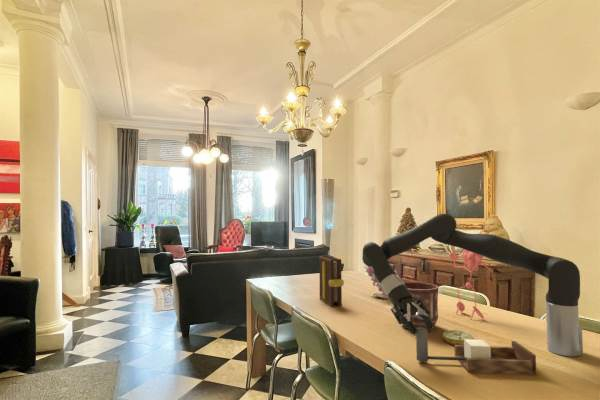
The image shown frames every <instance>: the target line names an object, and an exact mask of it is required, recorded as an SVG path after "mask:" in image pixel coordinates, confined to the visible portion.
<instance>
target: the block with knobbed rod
mask: <svg viewBox="0 0 600 400" xmlns="http://www.w3.org/2000/svg"><path fill="white" fill-rule="evenodd" d="M416 329H417V330H418V332H417V333H416V334H415V336H416V337H415V339H416V340H415V341H416V343H415V344H416V348H415V349H416V352H415V353H416V360H417V361H418V362H422V363H426V362H429V360H435V361H436V360H439V361H440V360H441V361H458V360H459V361H466V358H484V359H491V347H490V346H491V345H489V343H487V342H486V341H485V340H484V339H464V357H455V356H442V355H441V356H437V355H434V356H433V355H429V343H428V341H429V339H428V334H429V333H428V330H427V329H426V328H422V327H418V328H416ZM459 361H458V362H459Z"/></svg>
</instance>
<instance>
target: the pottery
mask: <svg viewBox="0 0 600 400" xmlns="http://www.w3.org/2000/svg"><path fill="white" fill-rule="evenodd" d="M403 283H404V284H405V285H406V287H407V288H408V290H409V291H410V292H411V294H412V299H413V300H414V301H415V302H416V301H417V300H418V299H420V300H421V301H422V303H423V304H424V305H425V306H426V308H427V309H428V310H429V312H430V314H429V315H428V317H429V319H430V320H431V322H432V323H433V325H434V326H435V325H436V324H437V322H438V320H439V310H438V309H439V308H438V307H439V305H438V302H439V300H438V299H439V289H440V288H439V286H438V285H436V284H432V283H428V282H421V281H405V282H404V281H403ZM418 311H419V310H417V312H418ZM423 311H424V312H426V311H425V310H423ZM420 315H422V314H420ZM422 316H423V315H422ZM399 318H400V319H401V317H400V316H399ZM411 321H412V323H413V324H414V326H415V327H416V328H418V327H422V328H426V329H427V331H430V330H429V329H428V328H427V326H426V325H425V323H424V322H423V320H422V319H421V318H419V317H416V316H410V322H411ZM402 325H403V327H404V328H406V329H408V328H407V326H406V325H404V324H402Z"/></svg>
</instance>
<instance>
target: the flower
mask: <svg viewBox="0 0 600 400" xmlns="http://www.w3.org/2000/svg"><path fill="white" fill-rule="evenodd" d="M362 268H364V269H365V270H364V272H365V273H367V274H368V276H369V277H370V280H371V282H372V286H373V287H377V289H378V292H380V293H378V292H375V293H373V295H372V297H374V296H377V297H379V298H382V299H386V297H387V295H386V293H385V292H384V290H383V288H382V286H381V284H380V283H379V281H378V280H377V278H376V277H375V275H374V270H373V267H370V266H367V265H363V266H362ZM393 270H394V271H395V273H396V274H397V275H398V272H397V270H395V269H393ZM381 292H382V294H381Z"/></svg>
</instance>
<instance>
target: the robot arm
mask: <svg viewBox="0 0 600 400" xmlns="http://www.w3.org/2000/svg"><path fill="white" fill-rule="evenodd" d="M457 225H458V224H457V220H456V218H454V217H453V216H452V215H451V214H447V213H439V214H437V215H435V216H433V217H431V218H430V219H428V220H427V221H425V222H423V223H422V224H419V225H417V226H415V227H414V228H411V229H409V230H407V231H404V232H402V233H400V234H396V235H394V236H392V237H389V238H387V239H385V240H383V242H382V243H381V245H379V244H378V243H376V242H371V241H370V242H367V243H365V244H364V245H363V247H362V258H361V259H362V262H363V264H364V266H370V267H373V270H374V275H373V276H375V277H376V278H377V280H378V281H379V284H381V286H382V288H383V290H384V292H385V293H386V297H387V298H388V299H389V301H390V302H391V304H392V305H393V306H392V307H391V309H390V311H391V312H392V314H393V316H394V318H395V319H396V321H397V323H398V324H399V325H403V324H404V325H406V326H407V328H406V329H408V330H409V332H410V334H412V336H414V335H415V336H416V333H417V332H418V330H417V329H416V327H415V326H414V324H413V323H412V321H411V322H410V316H416V317H419V318H421V319H422V320H423V322H424V323H425V325H426V326H427V328H428V329H429V330H428V331H430V330H432V329H434V327H435V325H433V323H432V322H431V320H430V319H429V317H428V315H429V314H430V312H429V310H428V309H427V308H426V306H425V305H424V304H423V303H422V301H421V300H420V299H418V300H417V301H416V302H415V301H414V300H413V299H412V294H411V292H410V291H409V290H408V288H407V287H406V285H405V284H404V283H403V282H404V281H403V280H402V279H401V277H400V276H399V275H398V273H397V274H396V273H395V271H396V270H395V269H394V267H392V266H391V265H390V264H391V263H389V261H388V260H389V259H391V258H393V257H394V256H397V255H401V254H403V253H405V252H407V251H410V250H411V249H413V248H414V247H416V246H417V245H419V244H420V243H422V242H424V241H425V240H427V239H429V238H431V239H432V240H434V241H436V243H437V242H438V243H440V244H444V245H447V246H452V247H456V248H459V249H461V250H464V249H465V250H468V251H470V252H473V253H476V254H479V255H482V256H484V257H483V258H487V259H490V260H493V261H495V262H498V263H501V264H505V265H509V266H512V267H517V268H522V269H525V270H528V271H531V272H532V273H535V274H537V275H539V276H542V277H544V278H546V279H547V280H548V290H547V292H546V294H545V312H546V340H547V341H546V343H547V344H546V345H547V350H548V351H550V352H551V353H553V354H556V355H559V356H564V357H574V358H575V357H579V356H584V346H583V345H584V343H583V328H582V326H580V322H579V321H580V319H579V315H580V314H579V299H580V296H581V274H580V270H579V267H578V266H577V264H575V263H574V262H573V261H571V260H569V259H566V258H563V257H558V256H552V255H549V254H544V253H542V252H541V253H540V252H537V251H535V250H532V249H530V248H527V247H525V246H523V245H521V244H519V243H517V242H515V241H512V240H509V239H508V238H504V237H500V236H498V235H496V234H495V235H494V234H489V233H467V232H464V231H460V230H458V229H457ZM394 270H395V271H394ZM417 310H419V311H418V312H417ZM423 310H425V311H426V312H424V311H423ZM420 314H422V315H423V316H422V315H420ZM399 316H400V317H401V319H400V318H399Z"/></svg>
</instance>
